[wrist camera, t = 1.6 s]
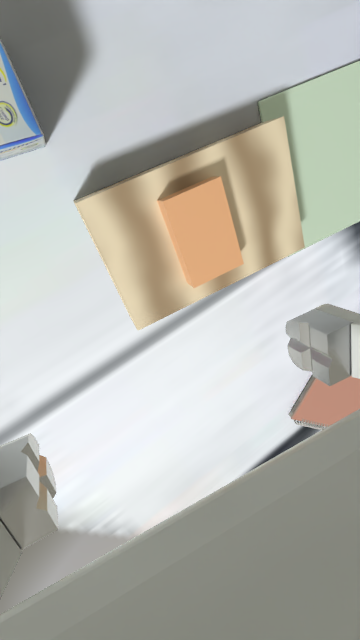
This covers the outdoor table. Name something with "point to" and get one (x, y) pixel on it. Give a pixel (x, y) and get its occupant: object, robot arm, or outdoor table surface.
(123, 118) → the outdoor table surface
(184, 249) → the orange rectangular block
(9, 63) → the medicine box
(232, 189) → the plate
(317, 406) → the notebook
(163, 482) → the outdoor table surface
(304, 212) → the mat
